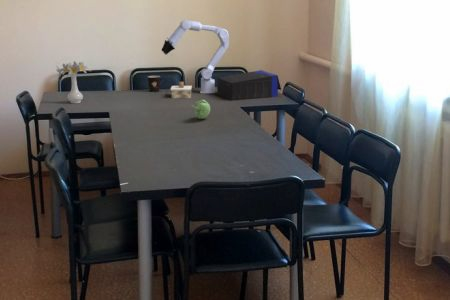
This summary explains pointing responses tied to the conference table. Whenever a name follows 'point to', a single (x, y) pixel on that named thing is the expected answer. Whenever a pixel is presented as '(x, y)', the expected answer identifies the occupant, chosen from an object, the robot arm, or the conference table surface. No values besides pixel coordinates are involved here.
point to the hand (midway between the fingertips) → (163, 52)
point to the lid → (181, 87)
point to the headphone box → (248, 85)
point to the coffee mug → (154, 83)
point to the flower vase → (73, 80)
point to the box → (181, 94)
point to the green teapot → (202, 109)
